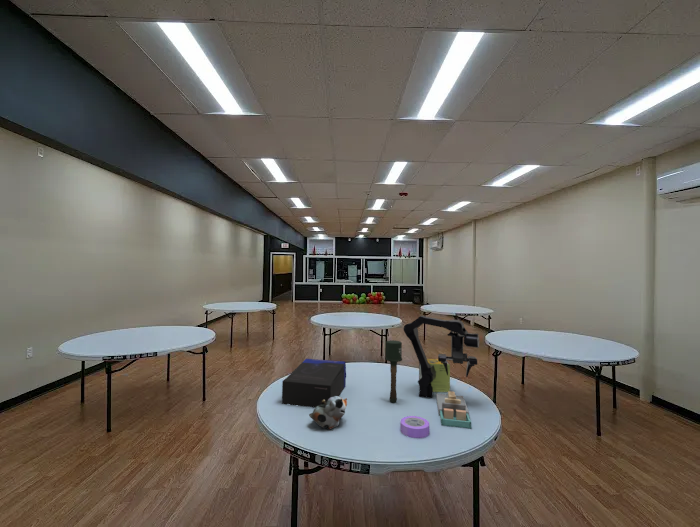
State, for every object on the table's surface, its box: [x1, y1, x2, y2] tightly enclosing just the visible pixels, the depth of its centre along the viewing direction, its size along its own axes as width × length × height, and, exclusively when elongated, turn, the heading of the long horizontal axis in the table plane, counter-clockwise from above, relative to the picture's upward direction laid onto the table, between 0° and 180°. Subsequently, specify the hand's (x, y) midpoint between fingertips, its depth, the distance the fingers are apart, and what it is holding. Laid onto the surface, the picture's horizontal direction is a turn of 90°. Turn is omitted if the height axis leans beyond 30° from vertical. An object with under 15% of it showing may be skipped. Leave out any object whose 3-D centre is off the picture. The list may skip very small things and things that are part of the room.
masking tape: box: [399, 415, 430, 439], centre depth 128 cm, size 12×12×4 cm
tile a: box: [444, 408, 453, 420], centre depth 139 cm, size 4×4×2 cm
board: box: [435, 392, 470, 417], centre depth 151 cm, size 13×20×3 cm, turn 168°
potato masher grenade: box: [385, 339, 403, 404], centre depth 158 cm, size 8×9×30 cm
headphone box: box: [281, 358, 347, 409], centre depth 167 cm, size 25×35×14 cm
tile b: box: [456, 410, 466, 421], centre depth 138 cm, size 4×4×2 cm
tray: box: [439, 411, 472, 430], centre depth 136 cm, size 12×9×3 cm
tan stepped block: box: [442, 390, 467, 411], centre depth 147 cm, size 10×12×4 cm
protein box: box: [418, 358, 451, 393], centre depth 178 cm, size 10×15×16 cm
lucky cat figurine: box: [308, 396, 348, 431], centre depth 134 cm, size 15×12×14 cm
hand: (457, 376), depth 159 cm, fingers open, 9 cm apart
